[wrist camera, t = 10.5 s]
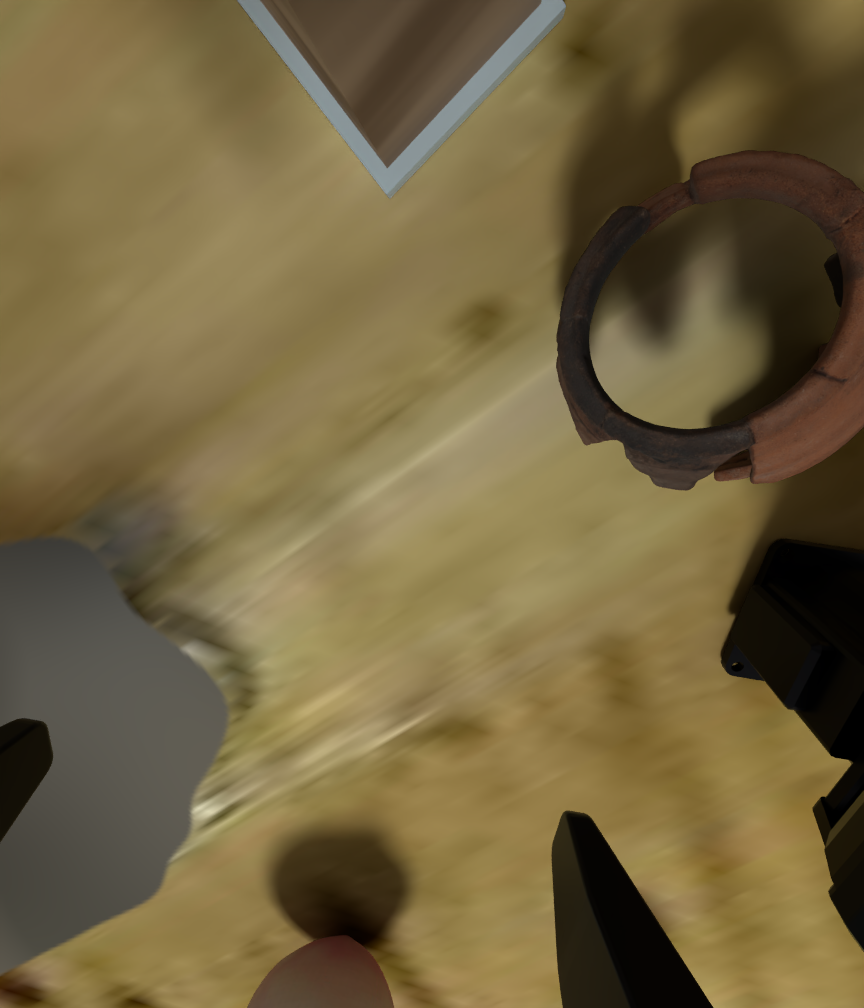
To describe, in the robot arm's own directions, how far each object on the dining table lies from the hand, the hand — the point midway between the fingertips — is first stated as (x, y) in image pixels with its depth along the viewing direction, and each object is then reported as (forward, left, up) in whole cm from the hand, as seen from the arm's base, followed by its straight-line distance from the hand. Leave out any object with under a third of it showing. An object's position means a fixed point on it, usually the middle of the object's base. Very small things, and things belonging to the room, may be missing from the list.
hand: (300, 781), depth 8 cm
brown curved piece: (-10, -9, -13) cm, 19 cm away
